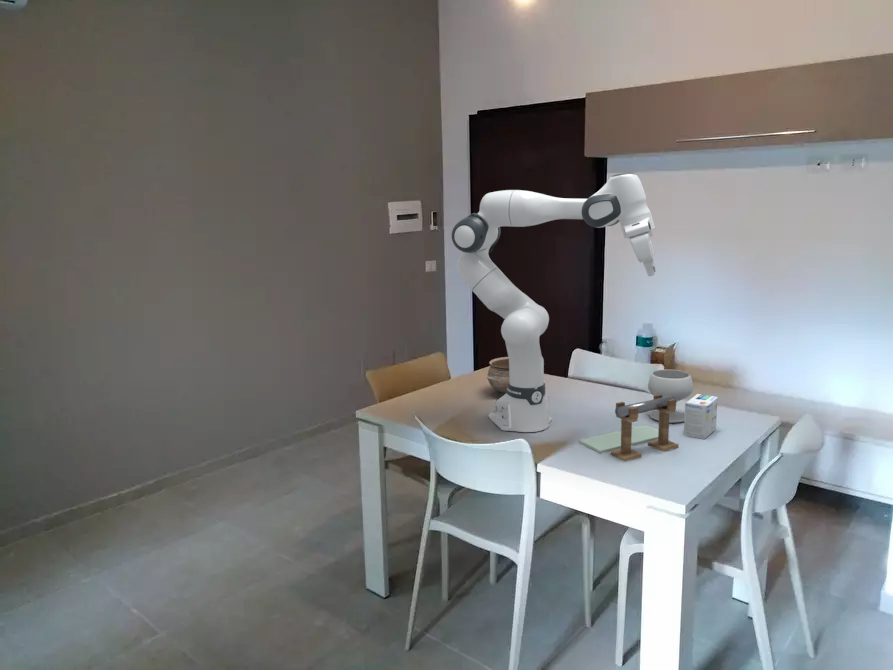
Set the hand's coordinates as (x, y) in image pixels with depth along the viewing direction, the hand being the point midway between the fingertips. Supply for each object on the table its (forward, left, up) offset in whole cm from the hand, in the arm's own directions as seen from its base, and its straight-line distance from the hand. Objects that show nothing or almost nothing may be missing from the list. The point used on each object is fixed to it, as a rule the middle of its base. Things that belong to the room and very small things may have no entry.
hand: (652, 274), depth 188 cm
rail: (+6, -7, -38) cm, 39 cm away
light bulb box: (+3, +18, -50) cm, 54 cm away
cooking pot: (-63, -9, -50) cm, 81 cm away
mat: (-4, -6, -50) cm, 51 cm away
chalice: (-12, +20, -50) cm, 56 cm away
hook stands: (+6, -7, -50) cm, 51 cm away
